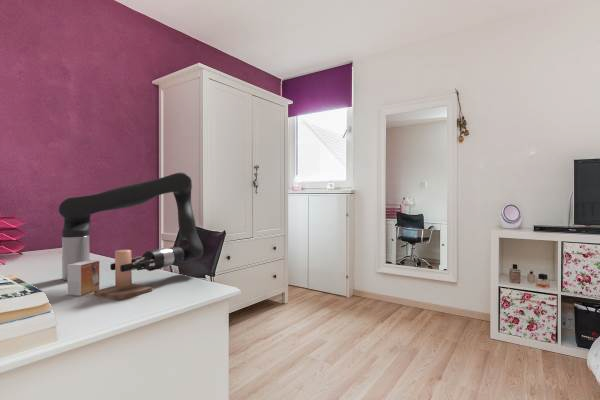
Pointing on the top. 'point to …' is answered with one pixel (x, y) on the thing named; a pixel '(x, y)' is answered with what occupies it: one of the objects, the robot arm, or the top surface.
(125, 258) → the terracotta canister
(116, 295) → the walnut board
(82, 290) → the small box
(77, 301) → the top surface
